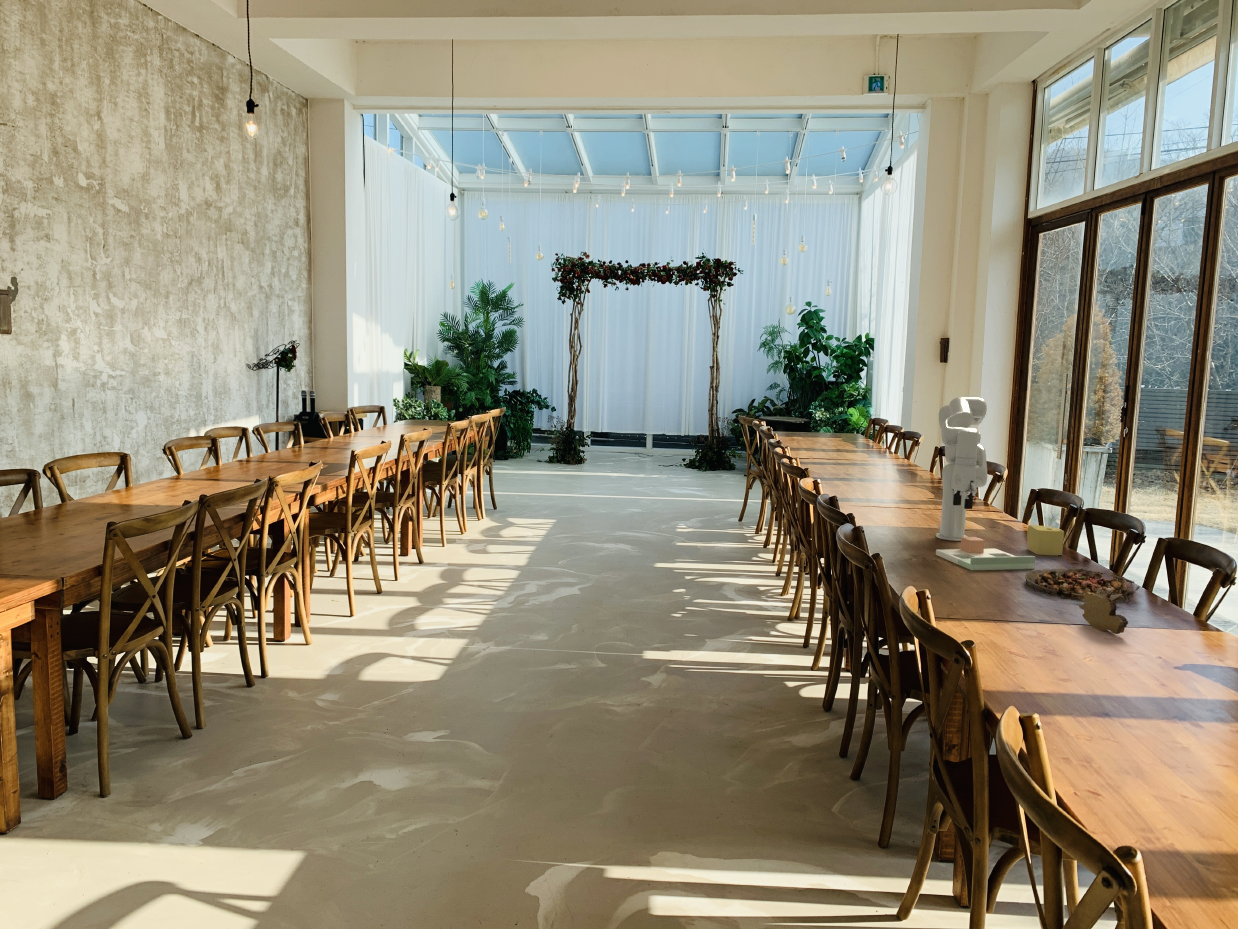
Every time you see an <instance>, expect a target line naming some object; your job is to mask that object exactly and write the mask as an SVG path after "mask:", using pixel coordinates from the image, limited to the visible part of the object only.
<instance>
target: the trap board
mask: <svg viewBox="0 0 1238 929" xmlns="http://www.w3.org/2000/svg"><path fill="white" fill-rule="evenodd" d="M935 550H936V551H935V556H938V557H940V558H942V559H945V560H947V561H949V562H952V563H954V564H955V565H958V566H960V567H963V568H965V569H968V570H970V571H989V570H990V571H992V570H993V571H995V570H998V571H999V570H1031V569H1032V570H1034V569H1035V564H1036V556H1034V555H1015V554H1014V555H1013V554H1011V553H1008V552H1006V551H1003V550H1000V549H997V548H984V553H967V552H964V551H962V550H960V548H951V549H947V548H946V549H945V548H944V549H935Z"/></svg>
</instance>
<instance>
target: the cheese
mask: <svg viewBox="0 0 1238 929" xmlns="http://www.w3.org/2000/svg"><path fill="white" fill-rule="evenodd" d="M1026 532H1027V533H1026V541H1027V550H1028V551H1030V552H1032V553H1033V554H1035V555H1037V556H1038V555H1039V556H1040V555H1041V556H1058V555H1063V551H1064V549H1063V548H1064V538H1065V531H1064V530H1062V528H1061V529H1060V528H1058V527H1052V526H1051V527H1050V526H1045V525H1036V524H1029V525H1028V527H1027V531H1026Z"/></svg>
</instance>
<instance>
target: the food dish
mask: <svg viewBox="0 0 1238 929" xmlns="http://www.w3.org/2000/svg"><path fill="white" fill-rule="evenodd" d="M1103 575H1106V573H1105V572H1103V571H1101V572H1100V571H1096V570H1087V569H1085V568H1079V567H1077V568H1045V569H1036V570H1034V569H1033V570H1030V571H1028V572H1026V574H1025V575H1024V579H1025V583H1026V585H1028V586H1029V587H1030V588H1031V589H1034V590H1035V591H1036V592H1038V593H1042V594H1045V595H1049V596H1053V597H1059V598H1060V599H1063V600H1064V599H1065V600H1073V601H1080V602H1081V601H1082V602H1085V601H1084V597H1085V595H1086V594H1101V595H1105V596H1107V597H1108V598H1109V599H1110V600H1111V601H1114V602H1115V603H1116V604H1121V603H1126V604H1127V603H1128V602H1129V601H1132V600H1133V596H1134V594H1135V592H1136V591H1138V590H1139V589H1140V585H1139V586H1136V588H1135V589H1134V590H1130V589H1128V588H1129V585H1128V584H1127V583H1131V584H1134V583H1135V580H1130V579H1128V578H1123V577H1121V576H1118V575H1113V574H1110V573H1109V574H1108V576H1112V577H1114V578H1111V579H1109V578H1106V577H1105V578H1103ZM1121 580H1124V581H1125V582H1127V583H1121V582H1120V581H1121Z"/></svg>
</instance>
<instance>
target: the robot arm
mask: <svg viewBox="0 0 1238 929" xmlns="http://www.w3.org/2000/svg"><path fill="white" fill-rule="evenodd" d="M987 409H988V408H987V402H986V400H984V398H982V397H971V396H970V397H969V396H967V397H966V396H965V397H964V396H958V397H955V398H953V399H951V401H950V402H949V404H946V405H943V406H942V407H940V409H939V412H938V424H939V428H940V436H941V437H940V438H941V442H942V443H943V445H944V454H945V457H944V458H945V461H946V464H945V465H944V466H943V467H942V470H941V477H942V478H941V479H942V501H941V516H940V517H941V519H940V525H939V526H937V529H938V530H939V532H937V533H935V537H936V538H938V539H940V540H944V541H950V542H953V541H954V542H961V537H969V536H968V535H966V534H965V530H966V519H967V518H966V517H967V516H966V514H967V510H972V509H973V505H974V500H975V496H976V494H977V493H978V489H977V488H983V487H985V486H986V485H987V482H988V466H987V465H988V464H987V453H986V449H985V447H984V446H983V445H982V444H981V440H982V439H981V435H982V434H981V432H980V431H979V429H977V428H973V427H971V426H978V425H981V423H982V422H983V420H984V418H986V417H985V416H987Z"/></svg>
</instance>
